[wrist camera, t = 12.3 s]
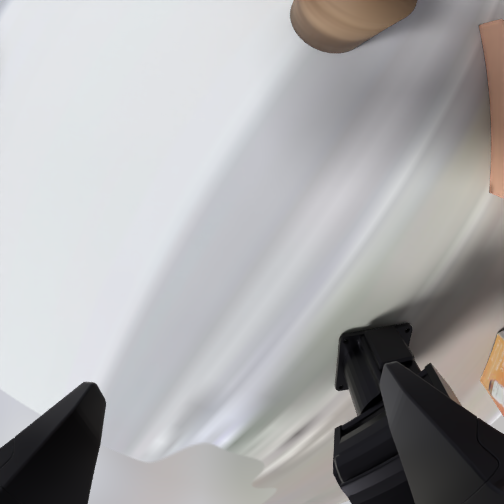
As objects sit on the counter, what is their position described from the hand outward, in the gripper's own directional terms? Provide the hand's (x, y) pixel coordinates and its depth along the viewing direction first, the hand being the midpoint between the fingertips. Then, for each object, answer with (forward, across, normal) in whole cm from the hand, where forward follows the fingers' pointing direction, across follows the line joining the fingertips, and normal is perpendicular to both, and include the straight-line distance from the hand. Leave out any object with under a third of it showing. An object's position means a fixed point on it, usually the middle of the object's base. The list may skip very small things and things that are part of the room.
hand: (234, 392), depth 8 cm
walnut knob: (+13, -7, -14) cm, 20 cm away
